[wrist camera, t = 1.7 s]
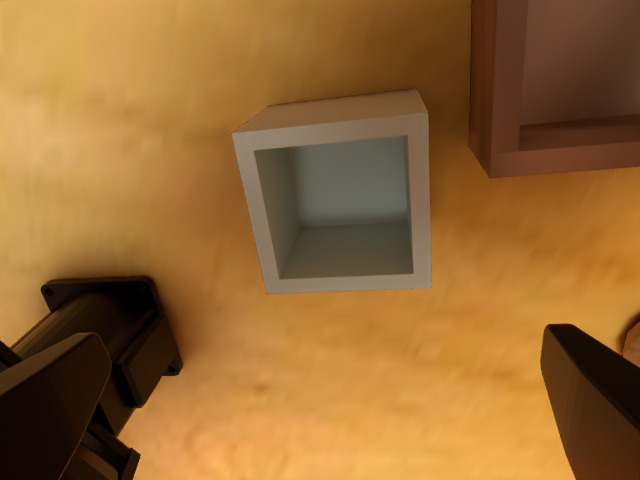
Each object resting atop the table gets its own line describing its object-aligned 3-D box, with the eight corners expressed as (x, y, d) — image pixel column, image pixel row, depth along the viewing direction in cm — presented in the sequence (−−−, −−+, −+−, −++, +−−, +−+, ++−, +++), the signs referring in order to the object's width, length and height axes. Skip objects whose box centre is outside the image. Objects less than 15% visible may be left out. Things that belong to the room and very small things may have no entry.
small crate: (292, 234, 21) (266, 294, 16) (268, 105, 18) (231, 133, 14) (421, 227, 20) (431, 287, 15) (416, 88, 17) (428, 112, 12)
